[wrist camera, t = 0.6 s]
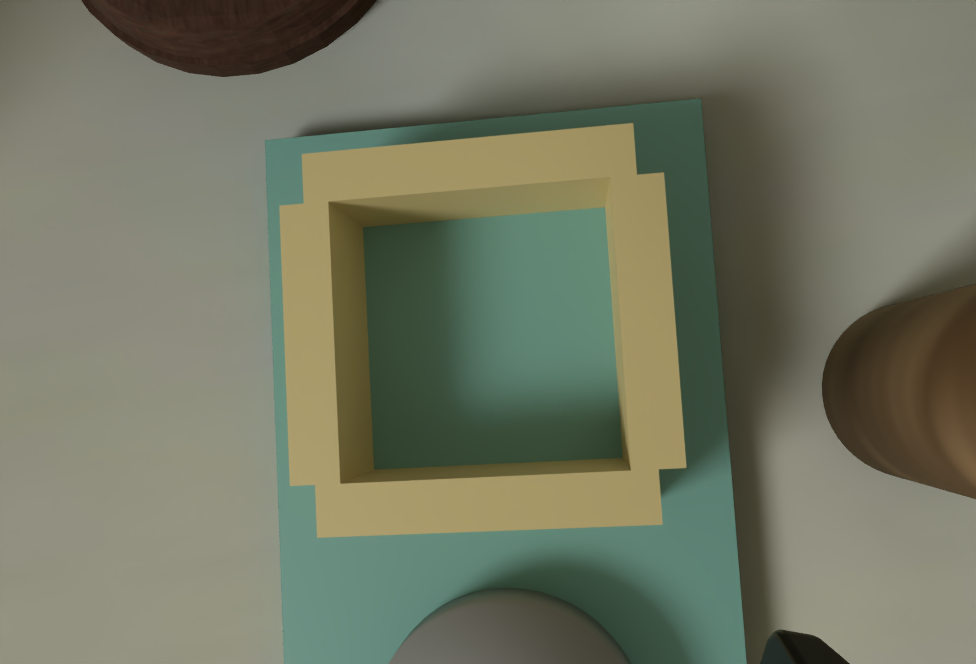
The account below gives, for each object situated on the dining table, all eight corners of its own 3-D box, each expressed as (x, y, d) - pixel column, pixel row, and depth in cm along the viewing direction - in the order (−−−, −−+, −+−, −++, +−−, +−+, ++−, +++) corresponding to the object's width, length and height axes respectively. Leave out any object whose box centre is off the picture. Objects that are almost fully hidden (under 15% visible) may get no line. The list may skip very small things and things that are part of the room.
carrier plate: (755, 867, 20) (800, 988, 16) (305, 863, 21) (243, 973, 17) (695, 111, 21) (722, 49, 17) (278, 151, 23) (215, 101, 19)
